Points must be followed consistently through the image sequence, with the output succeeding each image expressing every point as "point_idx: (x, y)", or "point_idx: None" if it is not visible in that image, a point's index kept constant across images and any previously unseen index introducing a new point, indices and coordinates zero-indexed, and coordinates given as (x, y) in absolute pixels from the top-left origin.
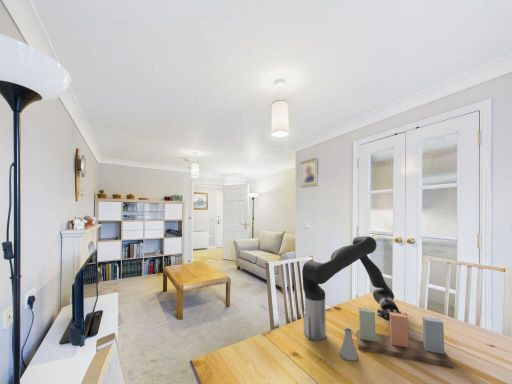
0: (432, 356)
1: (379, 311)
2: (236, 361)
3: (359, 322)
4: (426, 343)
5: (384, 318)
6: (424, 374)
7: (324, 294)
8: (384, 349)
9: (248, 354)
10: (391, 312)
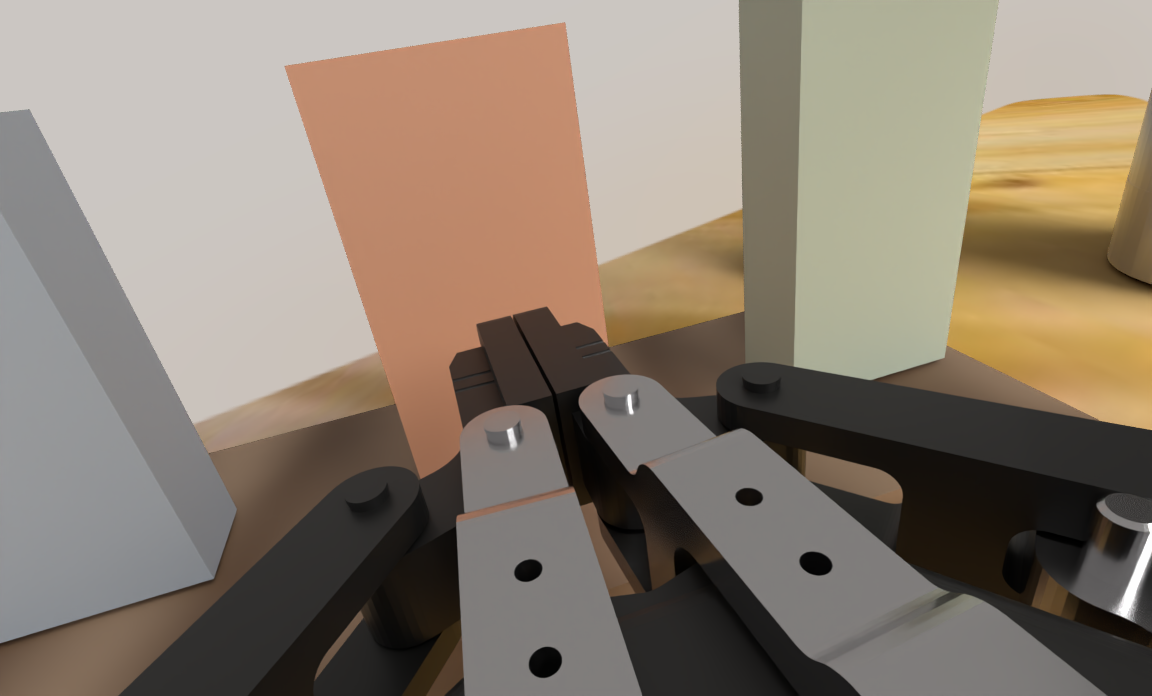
0: (218, 473)
1: (1129, 428)
2: (1071, 120)
3: (967, 198)
4: (189, 438)
5: (839, 489)
6: (381, 370)
7: None
8: (637, 342)
9: (1107, 130)
10: (533, 28)
